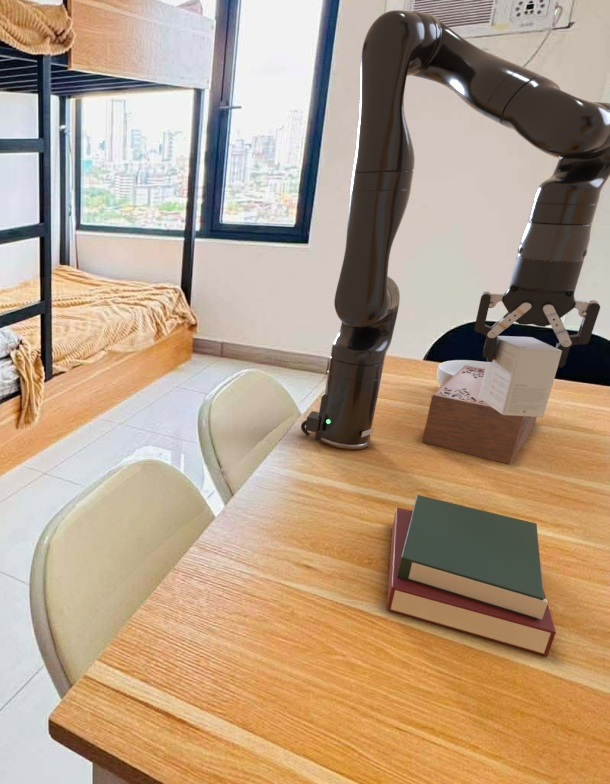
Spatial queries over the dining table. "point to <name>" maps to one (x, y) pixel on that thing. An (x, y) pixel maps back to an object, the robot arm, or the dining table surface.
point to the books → (470, 573)
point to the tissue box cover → (473, 420)
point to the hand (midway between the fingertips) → (520, 364)
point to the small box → (520, 376)
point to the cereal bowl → (455, 369)
